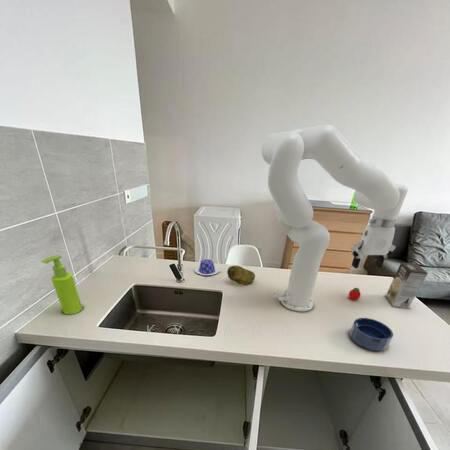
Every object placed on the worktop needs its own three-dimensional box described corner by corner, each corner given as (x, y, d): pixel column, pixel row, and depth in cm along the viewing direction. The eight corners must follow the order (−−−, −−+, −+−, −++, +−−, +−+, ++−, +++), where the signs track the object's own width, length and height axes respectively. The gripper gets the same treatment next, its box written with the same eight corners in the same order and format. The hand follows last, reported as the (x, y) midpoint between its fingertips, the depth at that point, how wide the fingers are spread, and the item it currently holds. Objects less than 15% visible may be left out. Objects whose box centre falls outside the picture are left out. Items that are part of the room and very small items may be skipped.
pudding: (189, 272, 117) (189, 262, 114) (202, 264, 126) (202, 254, 123) (211, 278, 112) (211, 268, 110) (223, 269, 121) (223, 259, 119)
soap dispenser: (56, 313, 84) (35, 258, 73) (73, 303, 89) (56, 251, 79) (69, 317, 82) (49, 262, 72) (85, 307, 88) (70, 255, 77)
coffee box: (384, 295, 107) (400, 261, 98) (400, 297, 106) (417, 263, 97) (392, 306, 99) (410, 270, 91) (409, 309, 98) (429, 273, 90)
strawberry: (350, 301, 101) (354, 291, 98) (345, 296, 105) (348, 286, 102) (360, 301, 101) (364, 291, 99) (354, 296, 105) (358, 286, 103)
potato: (255, 287, 107) (257, 271, 103) (226, 286, 107) (227, 269, 103) (254, 279, 114) (256, 263, 110) (226, 277, 114) (227, 261, 110)
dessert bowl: (361, 352, 75) (367, 340, 72) (342, 329, 84) (347, 318, 81) (394, 351, 76) (401, 339, 73) (372, 329, 85) (378, 317, 83)
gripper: (365, 225, 82) (350, 271, 91) (412, 225, 84) (392, 270, 93) (353, 219, 89) (340, 263, 98) (397, 220, 90) (380, 262, 99)
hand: (366, 266), depth 95 cm, fingers open, 9 cm apart
